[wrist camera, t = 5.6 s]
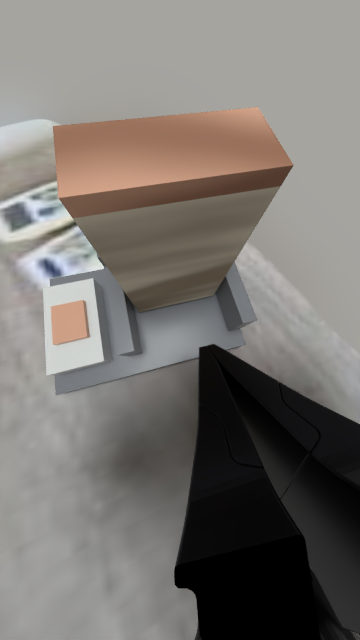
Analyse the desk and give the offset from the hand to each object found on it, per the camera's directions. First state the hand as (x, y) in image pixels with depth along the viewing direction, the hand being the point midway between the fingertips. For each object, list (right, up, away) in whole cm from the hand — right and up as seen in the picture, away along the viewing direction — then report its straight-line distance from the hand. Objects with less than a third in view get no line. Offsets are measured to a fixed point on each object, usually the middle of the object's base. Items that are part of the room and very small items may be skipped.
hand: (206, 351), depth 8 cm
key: (-2, +5, +6) cm, 8 cm away
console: (-5, +2, +7) cm, 9 cm away
